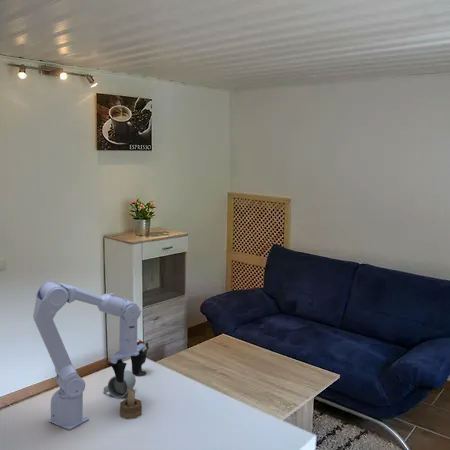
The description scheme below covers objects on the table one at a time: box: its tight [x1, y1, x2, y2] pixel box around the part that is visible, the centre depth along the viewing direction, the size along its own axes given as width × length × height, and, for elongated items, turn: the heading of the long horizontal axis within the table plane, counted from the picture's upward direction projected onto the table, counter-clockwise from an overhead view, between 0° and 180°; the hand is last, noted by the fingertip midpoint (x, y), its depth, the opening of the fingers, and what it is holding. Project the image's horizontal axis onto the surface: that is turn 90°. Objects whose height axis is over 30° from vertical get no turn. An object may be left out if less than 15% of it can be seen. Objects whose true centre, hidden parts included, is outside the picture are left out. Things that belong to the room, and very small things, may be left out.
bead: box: [119, 398, 143, 420], centre depth 155 cm, size 7×7×4 cm
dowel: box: [127, 389, 136, 406], centre depth 154 cm, size 2×2×8 cm
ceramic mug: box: [103, 370, 137, 399], centre depth 170 cm, size 11×8×8 cm
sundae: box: [134, 338, 150, 377], centre depth 187 cm, size 7×7×15 cm
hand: (127, 378), depth 159 cm, fingers open, 7 cm apart
